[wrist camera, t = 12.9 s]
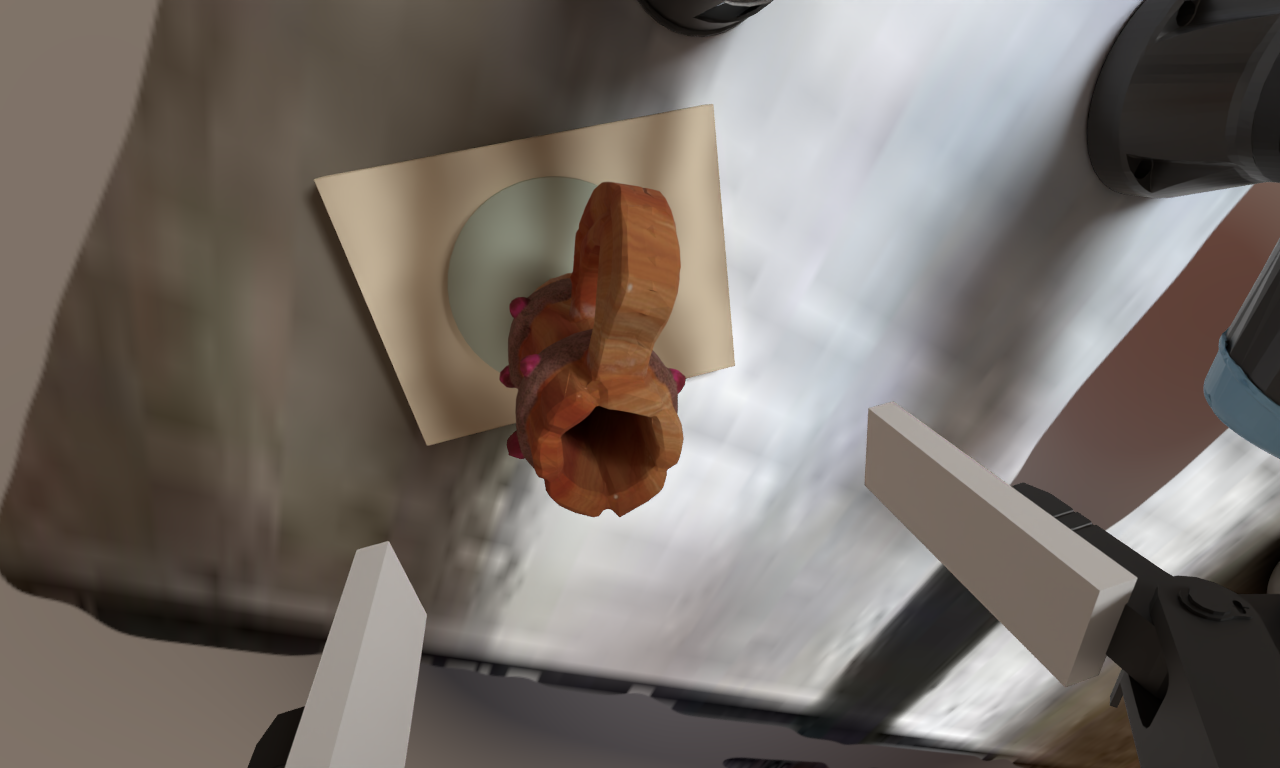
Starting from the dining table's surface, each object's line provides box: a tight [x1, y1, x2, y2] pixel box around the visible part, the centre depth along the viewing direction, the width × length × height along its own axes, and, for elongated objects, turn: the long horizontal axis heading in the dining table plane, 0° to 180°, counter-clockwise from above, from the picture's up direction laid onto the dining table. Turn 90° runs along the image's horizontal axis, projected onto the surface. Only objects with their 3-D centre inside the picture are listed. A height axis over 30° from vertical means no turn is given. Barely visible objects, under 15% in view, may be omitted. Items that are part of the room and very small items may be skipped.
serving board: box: [314, 104, 735, 446], centre depth 34 cm, size 22×17×2 cm
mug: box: [499, 182, 686, 517], centre depth 26 cm, size 15×8×15 cm, turn 168°
